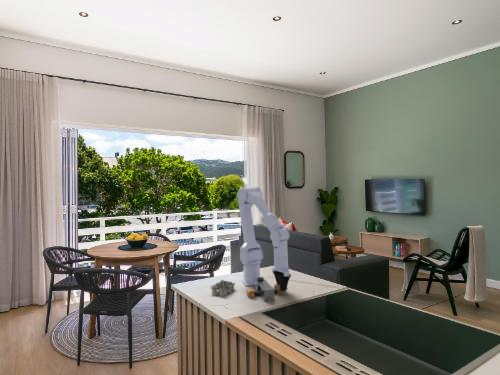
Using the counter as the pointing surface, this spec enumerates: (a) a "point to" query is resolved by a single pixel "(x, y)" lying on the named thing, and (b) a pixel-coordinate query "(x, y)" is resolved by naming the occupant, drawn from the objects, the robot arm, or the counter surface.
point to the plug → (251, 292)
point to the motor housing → (264, 289)
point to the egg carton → (222, 288)
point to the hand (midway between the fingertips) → (281, 289)
